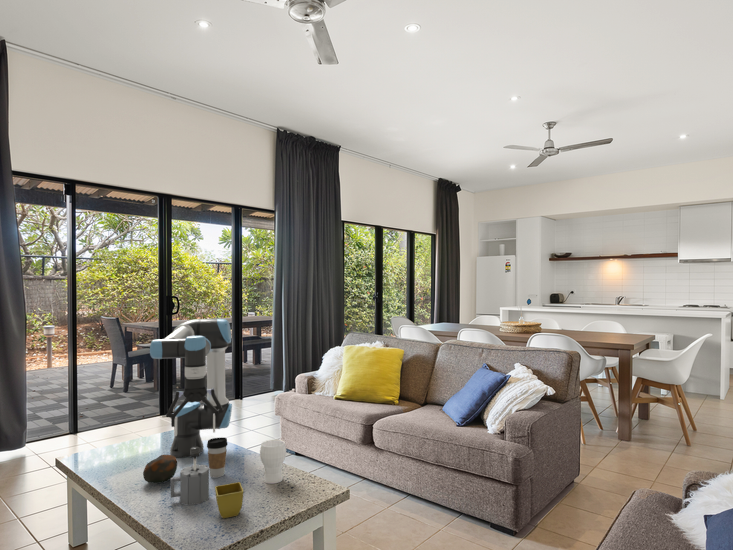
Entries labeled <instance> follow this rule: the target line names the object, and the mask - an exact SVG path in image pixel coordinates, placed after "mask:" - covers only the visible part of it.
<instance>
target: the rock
mask: <svg viewBox="0 0 733 550" xmlns="http://www.w3.org/2000/svg"><path fill="white" fill-rule="evenodd" d="M177 468H178V459H177V457H175V456H172V455H170V454H161V455H159V456H158V457H156V458H154V459H152V460H151V461H149V462H148V463H147V464H146V465H145V467H144V469H143V472H142V474H143V475H142V476H143V479H144V481H145V482H147V483H149V484H163V483H167V482H169V481H171V478H172V477H175V474H176V471H177Z"/></svg>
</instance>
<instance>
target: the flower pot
mask: <svg viewBox="0 0 733 550" xmlns="http://www.w3.org/2000/svg"><path fill="white" fill-rule="evenodd" d="M214 490H215V491H214V492H215V500H216V505H217V509H218V512H219V515H220V518H222V519H227V518H231V517H237V516H238V515H239V514H240V512H241V509H242V508H243V507H242V506H243V501H244V493H245V491H244V488H243V486H242V483H241V481H238V482H232V483H227V484H222V485H221V484H220V485H217V486H214Z"/></svg>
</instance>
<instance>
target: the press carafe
mask: <svg viewBox="0 0 733 550" xmlns="http://www.w3.org/2000/svg"><path fill="white" fill-rule="evenodd" d="M179 473H180V474H179V476H173V477H172V478H171V479H170V498H171V499H172V498H177V497H178V498H179V504H183V505H186V506H193V505H200V504H202V503H205V502H206V501H208V500H209V499H210V470H209V465H207V464H206V465H205V464H201V465H200V464H196V471H194V464H192V465H191V466H190V465H187V466H185V467H183V468H181V469H180V472H179ZM177 482H179V485H180V486H179V491H175V483H177Z"/></svg>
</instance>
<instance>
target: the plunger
mask: <svg viewBox="0 0 733 550" xmlns="http://www.w3.org/2000/svg"><path fill="white" fill-rule="evenodd" d="M199 453H200V448H199V447H192V448H191V449H190V457H189V458H192V459H193V465H194V471H196V465H197V458H199V457H200V454H201V453H200V454H199Z"/></svg>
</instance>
